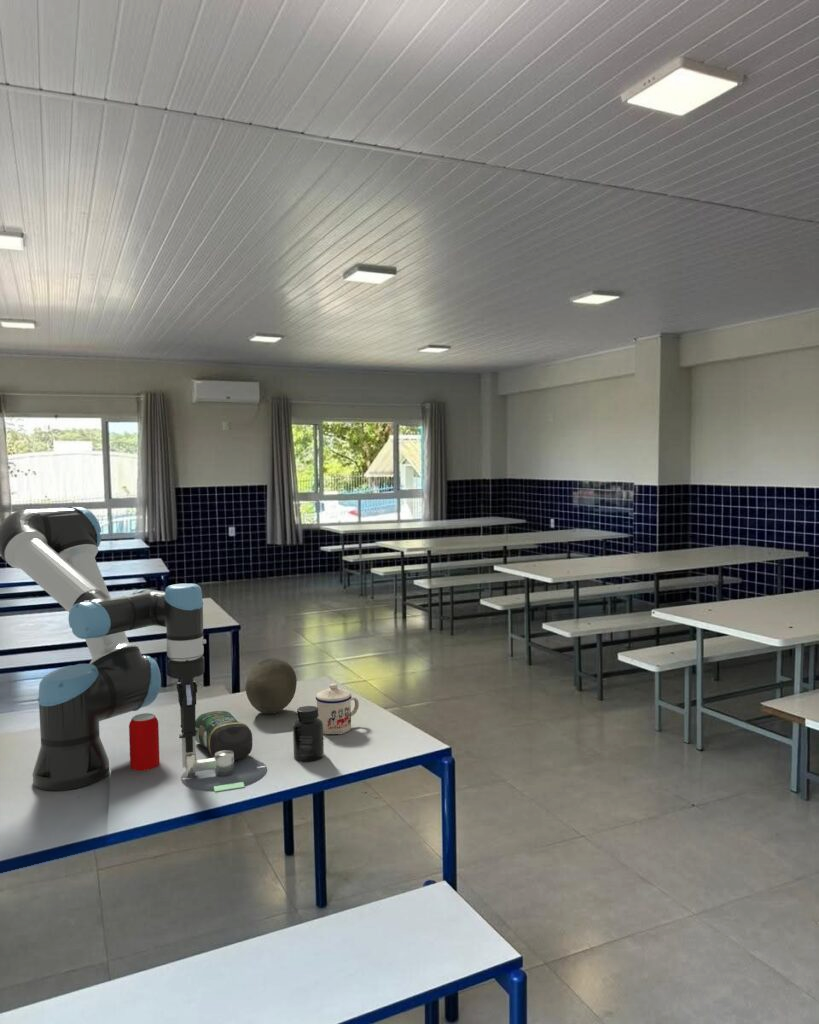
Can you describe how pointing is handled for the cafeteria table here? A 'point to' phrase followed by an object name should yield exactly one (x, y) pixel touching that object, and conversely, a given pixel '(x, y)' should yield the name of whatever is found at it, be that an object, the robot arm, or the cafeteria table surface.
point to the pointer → (211, 764)
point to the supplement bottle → (308, 735)
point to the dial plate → (227, 777)
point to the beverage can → (144, 742)
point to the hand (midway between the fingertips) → (189, 764)
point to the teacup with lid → (335, 709)
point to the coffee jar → (223, 734)
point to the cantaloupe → (271, 685)
